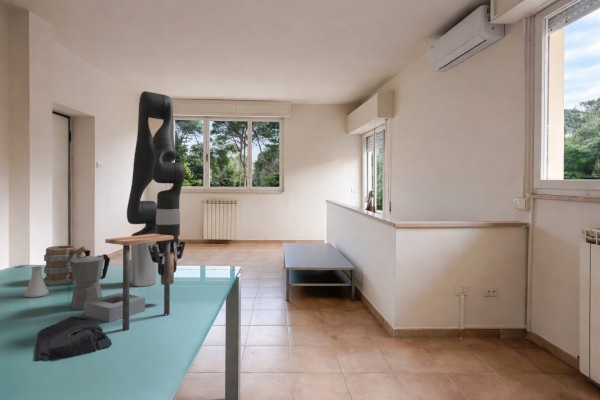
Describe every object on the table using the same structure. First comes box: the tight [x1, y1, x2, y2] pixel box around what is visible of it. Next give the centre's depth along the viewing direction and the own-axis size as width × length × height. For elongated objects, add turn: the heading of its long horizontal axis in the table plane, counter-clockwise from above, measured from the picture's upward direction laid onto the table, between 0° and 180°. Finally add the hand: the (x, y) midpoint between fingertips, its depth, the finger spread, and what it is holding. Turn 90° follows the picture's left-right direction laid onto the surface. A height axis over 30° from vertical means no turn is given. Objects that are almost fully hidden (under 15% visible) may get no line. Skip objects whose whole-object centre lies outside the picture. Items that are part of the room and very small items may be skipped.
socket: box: [83, 292, 146, 323], centre depth 113 cm, size 12×12×4 cm
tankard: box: [43, 244, 89, 286], centre depth 148 cm, size 20×13×15 cm, turn 68°
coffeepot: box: [68, 249, 111, 311], centre depth 120 cm, size 15×9×18 cm, turn 162°
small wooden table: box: [104, 234, 174, 331], centre depth 107 cm, size 9×16×24 cm, turn 152°
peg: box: [160, 252, 175, 286], centre depth 123 cm, size 4×4×10 cm
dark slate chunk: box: [34, 316, 112, 362], centre depth 92 cm, size 15×22×5 cm
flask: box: [23, 265, 50, 298], centre depth 130 cm, size 7×7×10 cm
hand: (167, 273), depth 123 cm, fingers closed on peg, 4 cm apart
